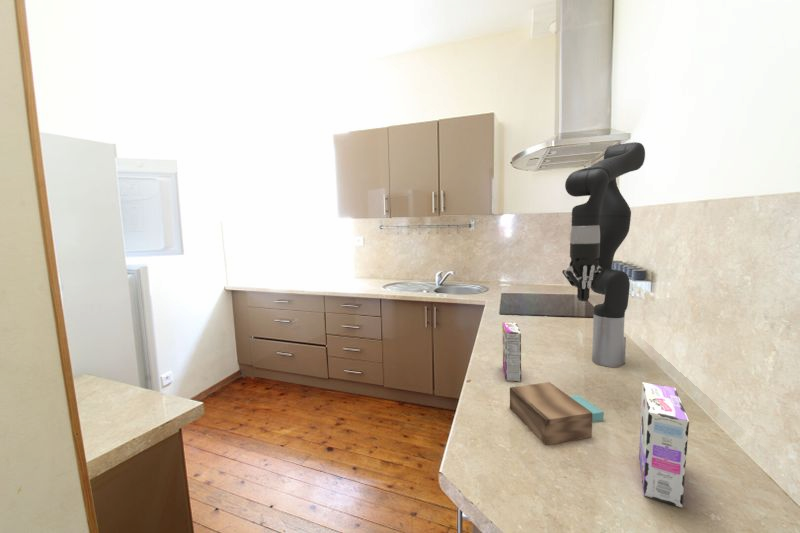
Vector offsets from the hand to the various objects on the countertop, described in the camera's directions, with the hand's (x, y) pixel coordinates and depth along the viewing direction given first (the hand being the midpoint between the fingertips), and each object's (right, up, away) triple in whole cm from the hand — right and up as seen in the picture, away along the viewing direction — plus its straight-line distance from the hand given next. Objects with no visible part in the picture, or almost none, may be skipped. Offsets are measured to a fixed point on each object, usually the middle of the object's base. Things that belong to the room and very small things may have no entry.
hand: (583, 300), depth 99 cm
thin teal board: (-11, -29, -11) cm, 33 cm away
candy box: (-3, -32, -33) cm, 46 cm away
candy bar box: (-16, -26, +14) cm, 34 cm away
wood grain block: (-15, -29, -13) cm, 35 cm away
